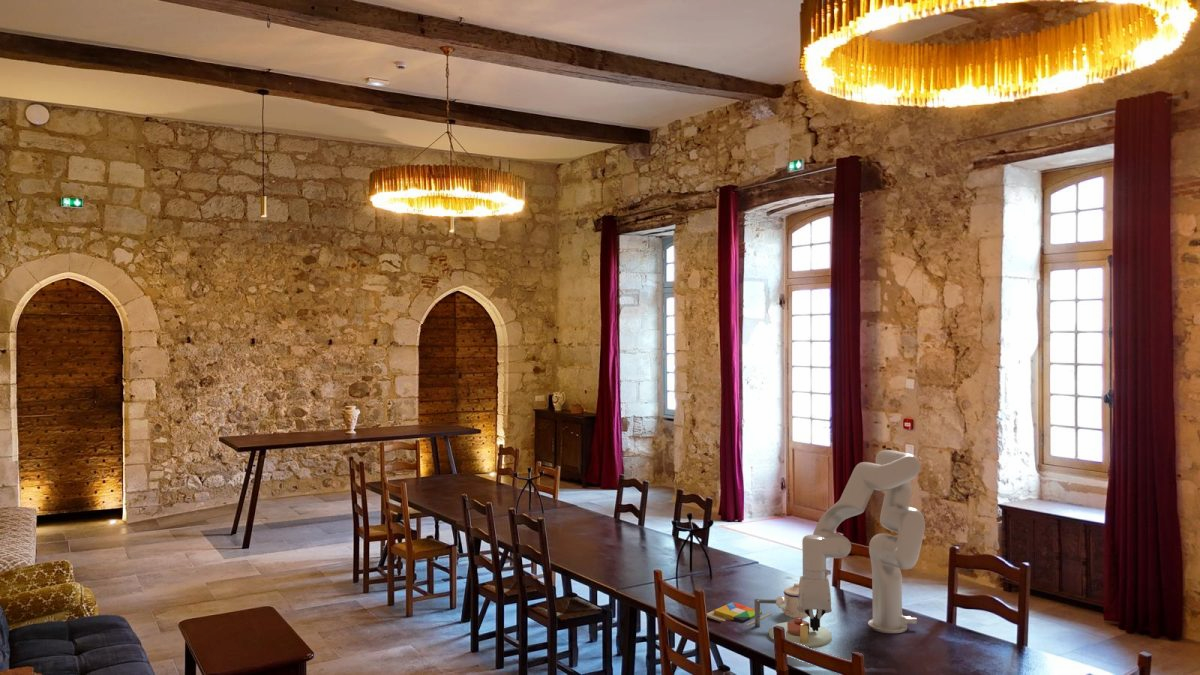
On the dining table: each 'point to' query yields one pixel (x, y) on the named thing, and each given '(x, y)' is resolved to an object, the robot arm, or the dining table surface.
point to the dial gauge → (779, 602)
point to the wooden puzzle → (735, 613)
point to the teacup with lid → (792, 602)
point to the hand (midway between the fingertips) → (815, 629)
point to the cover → (796, 626)
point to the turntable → (812, 639)
